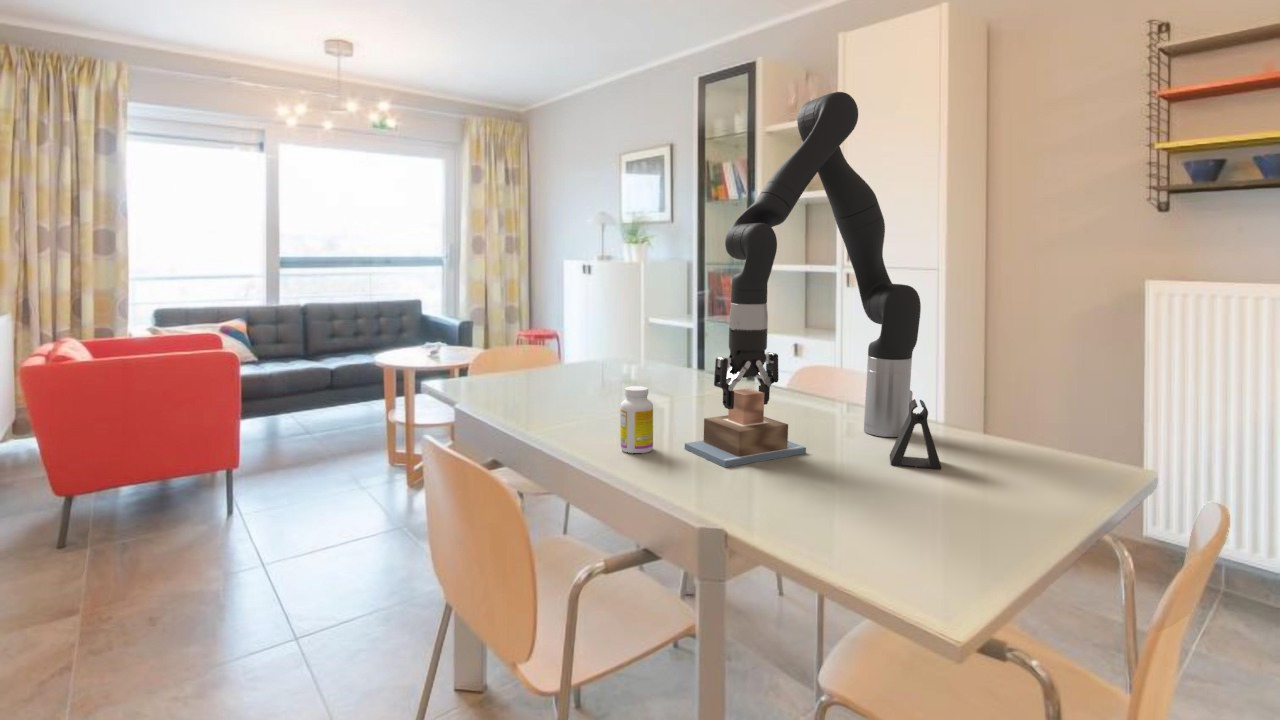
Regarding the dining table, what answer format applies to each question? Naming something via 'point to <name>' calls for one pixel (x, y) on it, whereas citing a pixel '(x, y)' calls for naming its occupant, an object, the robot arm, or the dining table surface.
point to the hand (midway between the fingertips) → (746, 406)
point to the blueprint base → (733, 462)
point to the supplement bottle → (636, 421)
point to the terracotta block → (747, 407)
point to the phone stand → (904, 437)
